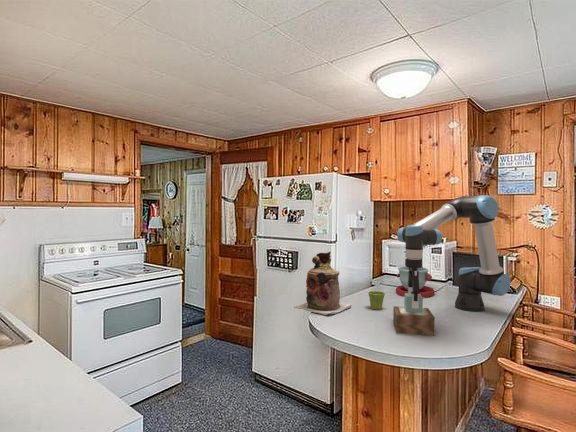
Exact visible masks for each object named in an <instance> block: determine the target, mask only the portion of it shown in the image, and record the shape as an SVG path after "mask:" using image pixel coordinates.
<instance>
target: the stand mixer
mask: <svg viewBox="0 0 576 432" xmlns="http://www.w3.org/2000/svg"><path fill="white" fill-rule="evenodd" d="M405 247H406V243H405ZM425 247H428V245H423V248H425ZM421 259H422V260H423V258H421ZM397 270H398V273H397V274H396V277H397V279H398V278H399V281H400V283H401V285H398V286H396V288H395V293H396V295H398V296H401V297H404V298H405V293H408V275H409V267H406V266H405V265H404V266H398V268H397ZM417 271H419V291H420V293H419V294H420V295H421V296H422V297H427V298H430V297H429V296H432V295H433V296H435V289H434V288H433V287H431V286H428V285H426V283H427V281H431V280H432V279H433V276H432V275H431V274H430V273H429V268H426V267H424V266H423V265H422V267H421V268H417ZM433 296H432V297H433Z"/></svg>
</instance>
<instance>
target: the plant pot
mask: <svg viewBox="0 0 576 432" xmlns="http://www.w3.org/2000/svg"><path fill="white" fill-rule="evenodd" d="M367 294H368V297H369V303H370V308H371V309H373V310H377V311H379V310H383V309H382V308H383V304H384V303H383V302H384V298H385V295H386V293H385V292H384V291H377V290H373V291H372V290H371V291H368V292H367Z"/></svg>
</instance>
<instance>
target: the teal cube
mask: <svg viewBox="0 0 576 432" xmlns="http://www.w3.org/2000/svg"><path fill="white" fill-rule="evenodd" d="M423 299H424V298H423V297H422V296H421V295H420V294H419V309H418V308H412V294H409V293H405V297H404V306H403V307H404V308H405V310H406V312H416V313H422V308H424V306H423V304H424V303H423Z"/></svg>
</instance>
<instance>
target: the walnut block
mask: <svg viewBox="0 0 576 432" xmlns="http://www.w3.org/2000/svg"><path fill="white" fill-rule="evenodd" d="M392 311H393V313H392V315H393V317H392V321H393V322H392V323H393V327H394V329H395V333H396V334H406V335H407V334H408V335H420V336H433V337H434V336H435V320H436V317H435V316H434V314H433V313H432V311H431V310H430V308H429V307H422V313H416V312H406V310H405V308H404V306H398V305H397V306H396V305H393V310H392Z"/></svg>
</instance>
